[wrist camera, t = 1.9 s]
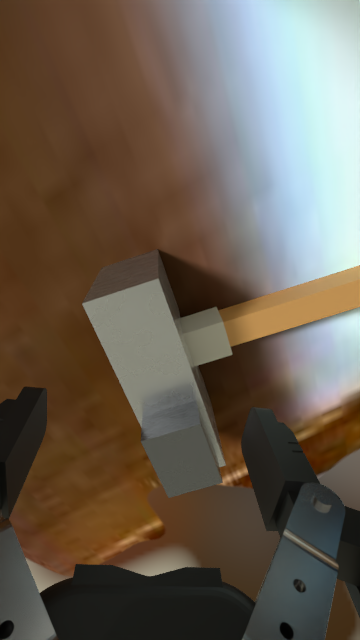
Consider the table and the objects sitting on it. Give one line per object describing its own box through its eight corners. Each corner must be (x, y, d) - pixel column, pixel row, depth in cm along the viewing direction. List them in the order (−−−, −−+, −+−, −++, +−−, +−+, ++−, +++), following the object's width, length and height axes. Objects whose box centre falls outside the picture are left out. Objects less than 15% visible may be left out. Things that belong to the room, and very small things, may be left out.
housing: (157, 249, 34) (158, 292, 22) (210, 400, 42) (232, 492, 30) (101, 267, 34) (73, 319, 22) (165, 414, 42) (168, 509, 30)
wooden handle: (369, 257, 36) (393, 267, 32) (372, 291, 37) (395, 304, 34) (162, 323, 37) (163, 340, 33) (174, 353, 39) (175, 372, 35)
